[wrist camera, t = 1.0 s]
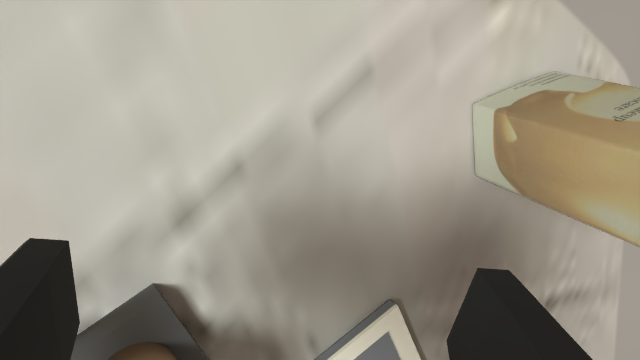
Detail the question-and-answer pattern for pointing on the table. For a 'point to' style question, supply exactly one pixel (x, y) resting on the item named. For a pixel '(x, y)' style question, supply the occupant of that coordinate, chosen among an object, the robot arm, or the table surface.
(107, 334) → the stamp
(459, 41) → the table surface
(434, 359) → the table surface
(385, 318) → the marked square
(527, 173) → the skincare box
